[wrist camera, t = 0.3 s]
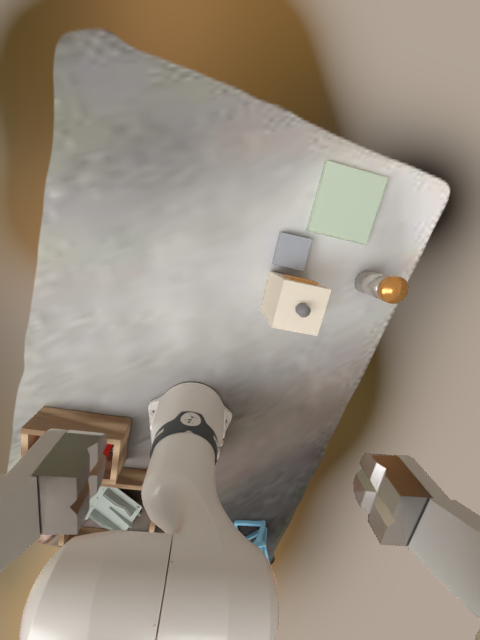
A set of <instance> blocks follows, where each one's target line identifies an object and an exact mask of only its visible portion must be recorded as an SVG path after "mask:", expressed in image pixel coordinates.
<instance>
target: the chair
mask: <svg viewBox="0 0 480 640" xmlns="http://www.w3.org/2000/svg"><path fill="white" fill-rule="evenodd" d="M234 525H235V527H236V528H237V529H238V526H237V525H242V526H260V529H259V530H257V531H255V532H253V533H251V534H249V535H247V536H245V537H246V538H247V539H248V540H251V539H253V538H255V537H257V538H256V539H255V541H254V542H253V544H254V545H256V546H257V547H259V548H260V549H261V550H262V552H263V553H264V554H265V556H266V558H267V559H268V561H269V558H268V554H267V549H266V538H267V527H265V526H266V521H265V520H261V521H252V520H235V521H234Z"/></svg>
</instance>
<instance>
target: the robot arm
mask: <svg viewBox="0 0 480 640" xmlns="http://www.w3.org/2000/svg"><path fill="white" fill-rule="evenodd" d="M148 410H149V422H150V433H151V451H150V463H149V466H148V469H147V472H146V476H145V479H144V482H143V485H142V491H141V496H142V502H143V506H144V508H145V510H146V513H147V515H148V516H149V518H150V519H151V521H152V522H153V523H154V524H156V525H157V526H158V527H159V528H161V529H162V530H163V531H165V532H166V533H155V532H141V531H128V530H111V531H104V532H97V533H92V534H86V535H81V536H75V537H73V538H72V539H70V540H69V541H68V542H67V543H65V544H64V545H63V546H62V547H61V548H60V549H59V550H58V551H57V552H56V553H55V554H54V555H53V556H52V557H51V559H50V560H49V561H48V563H47V564H46V565H45V567H44V568H43V570H42V571H41V573H40V574H39V576H38V577H37V579H36V581H35V583H34V585H33V587H32V589H31V591H30V594H29V596H28V599H27V602H26V605H25V608H24V611H23V616H22V620H21V626H20V640H275V639H276V634H277V630H278V623H279V594H278V588H277V583H276V579H275V576H274V573H273V570H272V568H271V565H270V563H269V561H268V559H267V558H266V556H265V554H264V553H263V552H262V550H261V549H260V548H259V547H257V546H256V545H254V544H253V543H252V542H250V541H249V540H248V539H247V538H246V537H245V536H244V535H243V534H242V533H241V532H240V531H239V530H238V529H237V528H236V527H235V525H234V524H233V523H232V522H231V520H230V519H229V517H228V516H227V514H226V513H225V511H224V509H223V507H222V505H221V503H220V501H219V498H218V495H217V490H216V480H215V465H216V462H217V459H218V458H219V455H220V449H219V448H218V447H222V446H223V440H222V439H224V437H225V432H226V430H227V428H228V426H229V424H230V422H231V419H232V413H231V411H230V410H229V409H227V408H226V407H225V406H224V405H223V403H222V401H221V399H220V397H219V395H218V394H217V393H216V392H215V391H214V390H213V389H211V388H210V387H208V386H206V385H203V384H200V383H194V382H188V383H182V384H179V385H176V386H174V387H172V388H171V389H169V390H168V391H167V392H166V393H165V394H164V395H163V396H161V397H159V398H156V399H154V400H152V401H150V403H149V406H148ZM153 410H155V411H153ZM225 420H226V421H225ZM106 445H107V435H106V434H105V433H96V432H86V431H76V430H63V429H53V428H51V429H49V430H47V431H46V432H45V433H44V434H43V435H42V436H41V437H40V438H39V439H38V440H37V441H36V442H35V444H34V445H33V446H32V447H31V448H30V449H29V450H28V451H27V452H26V454H25V455H24V456H23V457H22V458H21V459H20V460H19V461H18V462H17V463H16V465H15V466H14V467H13V468H12V469H11V470H10V471H9V472H8V473H7V474H6V475H0V572H1V571H2V570H3V569H4V568H5V567H6V566H8V565H9V564H10V563H11V562H12V561H13V560H14V559H16V558H17V557H18V556H19V555H20V554H21V553H22V552H23V551H25V550H26V549H27V548H28V547H29V546H30V545H32V544H33V543H34V542H35V541H36V540H37V539H38V538H39V537H40V535H77V534H78V532H79V530H80V527H81V525H82V523H83V521H84V519H85V517H86V515H87V513H88V511H89V505H90V498H92V497H93V496H94V495H96V494H97V492H98V490H99V488H100V486H101V483H102V480H103V477H104V474H105V468H106V456H105V455H104V453H103V451H104V449H105V447H106ZM360 465H361V467H362V469H361V470H360V471H358V472H357V473H356V475H355V478H354V482H353V484H354V493H355V497H356V499H357V502H358V504H359V505H360V507H361V508H362V509H363V510H365V511H366V512H367V513H368V514H369V515H368V522H369V524H370V526H371V528H372V530H373V532H374V534H375V535H376V537H377V539H378V541H379V543H380V544H381V545H396V546H408V549H409V550H410V551H411V552H412V553H413V554H414V555H415V556H416V557H417V558H418V559H419V560H420V561H421V562H422V563H423V564H424V565H425V566H426V567H427V568H428V569H429V570H430V571H431V572H432V573H433V574H434V575H435V576H436V577H437V578H438V579H439V580H440V581H441V582H442V583H443V584H444V585H445V586H446V587H447V588H448V589H449V590H450V591H451V592H452V593H453V594H454V595H455V596H456V597H457V598H458V599H459V600H460V601H461V602H462V603H463V604H464V605H465V606H466V607H467V608H468V609H469V610H470V611H471V612H472V613H473V614H474V615H475V616H476V617H477V618H478V619H479V620H480V516H479V515H478V514H476V513H475V512H473V511H471V510H470V509H468V508H467V507H465V506H464V505H462V504H460V503H459V502H457V501H456V500H450V499H449V498H448V496H447V495H446V494H445V493H444V492H443V491H442V490H441V488H440V487H439V486H438V485H437V484H436V483H435V482H434V481H433V480H432V479H431V477H430V476H429V475H428V474H427V473H426V472H425V471H424V470H423V469H422V467H421V466H420V465H419V464H418V463H417V462H416V461H415V460H414V459H413V458H412V457H410V456H407V455H385V454H384V455H383V454H370V453H365V454H364V455H363V456H362V458H361V460H360ZM171 539H172V540H171ZM475 640H480V630H479V631H478V633H477V634H476V638H475Z"/></svg>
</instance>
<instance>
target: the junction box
mask: <svg viewBox="0 0 480 640" xmlns="http://www.w3.org/2000/svg"><path fill="white" fill-rule="evenodd" d="M331 291H332V290H331V289H329V288H326V287H324V286H322V285H319V284H318V283H317V282H314V281H312V280H309V279H304V278H300V277H295V276H291V275H286V274H281V273H276V272H271V271H270V274H269V278H268V282H267V286H266V290H265V294H264V298H263V302H262V306H261V311H262V312H263V314H264V316H265V317H266V319H267V321H268V322H269V324H270V325H271V327H272V328H277V329H283V330H288V331H293V332H298V333H304V334H309V335H314V336H317V335H318V332H319V329H320V326H321V323H322V319H323V316H324V313H325V310H326V307H327V304H328V300H329V297H330V294H331Z"/></svg>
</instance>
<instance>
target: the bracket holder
mask: <svg viewBox="0 0 480 640" xmlns="http://www.w3.org/2000/svg"><path fill="white" fill-rule="evenodd" d="M131 419H132V418H127V417H119V416H112V415H104V414H97V413H89V412H82V411H74V410H66V409H59V408H51V407H43V408H42V409H41V410H40V411H39V412H38V413H37V414H36V415H35V416H34V417H33V418H32V419H30V420H29V421H28V422H27V423H26V424H25V425H24V426H23V427H22V428H21V458H22V457H23V456H24V455H25V454H26V452H27V451H28V450H29V449H30V448H31V447H32V446H33V445H34V444H35V442H36V441H37V440H38V439H39V438H40V437H41V436H42V435H43V434H44V433H45V432H46V431H47V430H49V429H51V428H53V429H63V430H76V431H86V432H96V433H105V434H106V435H107V444H114V449H113V453H110V454H109V456H108V458H107V460H106V468H105V474H104V477H103V480H102V483H104V484H114V485H116V482H117V480H118V477H119V475H120V473H121V470H122V468H123V466H124V463H125V461H126V458H127V450H128V442H129V434H130V426H131Z"/></svg>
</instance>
